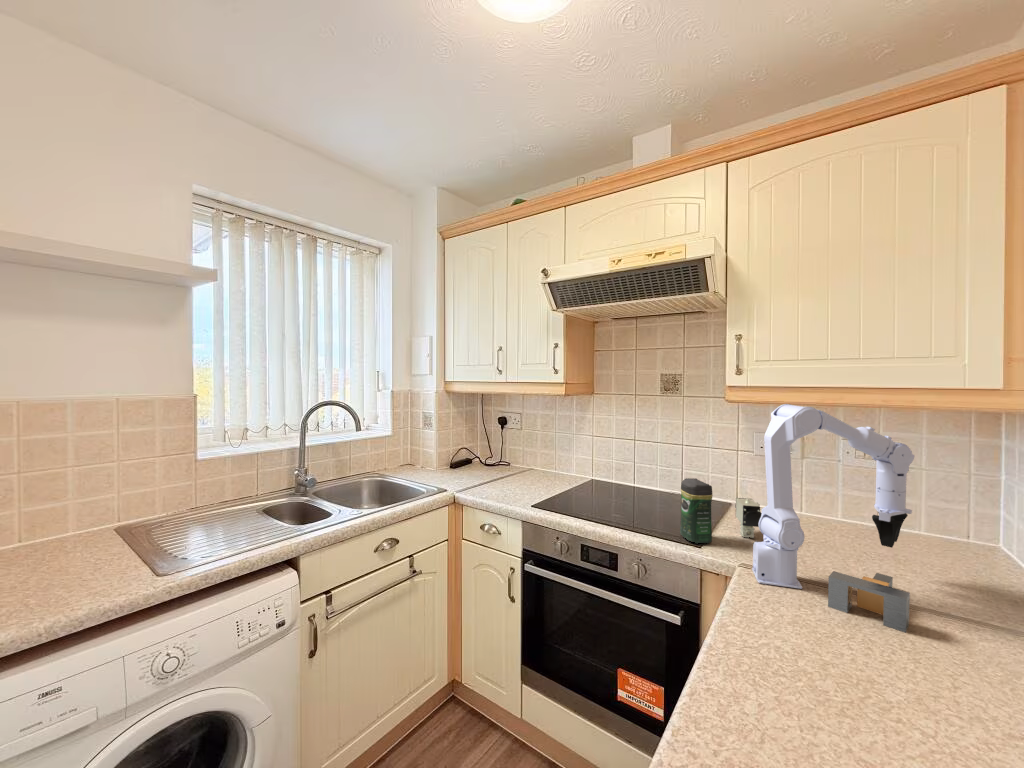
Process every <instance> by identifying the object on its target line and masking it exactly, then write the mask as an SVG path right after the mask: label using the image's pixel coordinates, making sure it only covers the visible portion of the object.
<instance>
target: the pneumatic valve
mask: <svg viewBox="0 0 1024 768" xmlns="http://www.w3.org/2000/svg"><path fill="white" fill-rule="evenodd" d="M734 505H735V506H734V507H735V518H736V519H737V520H738V521H739V522H740V524H739V526H740V529H739V530H740V531H739V534H740V535H741V537H742V536H743V537H742V538H744V537H745V538H749V537H750V538H751V539H755V535H754V534H755V528H759V525H758V524H759V520H760V518H761V515H762V511H761V507H760V503H759V502H755V501H754V500H753V499H752V498H748V497H747V498H746V497H745V498H744V497H736V498H735V504H734Z"/></svg>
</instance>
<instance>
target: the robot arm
mask: <svg viewBox="0 0 1024 768" xmlns="http://www.w3.org/2000/svg"><path fill="white" fill-rule="evenodd" d="M818 430H821V431H822V430H823V431H824V430H825V431H827V432H830V433H831V434H833V435H836V436H839V437H841V438H843V439H846V440H847V443H848V445H849V446H850V448H853V449H855V450H857V451H859V452H862V453H863V454H865V455H867V456H869V457H871V459H872V460H873V461H876V467H875V469H876V470H875V471H876V472H875V473H876V474H875V500H874V501H875V503H874V505H873V507H874V509H875V510H876V512H877V514H873V515H872V516H871V519H872V521H873V523H874V524H875V526H876V529H877V532H878V537H879V541H880V544H881V546H883V547H888V548H893V547H894V545H895V543H897V541H898V539H899V536H900V532H901V528H902V526H903V523H904V521H905V520H906V518H907V517H908V515H912V513H913V510H912V509H910V508H906V506H907V503H906V501H907V500H906V499H907V476H908V475H907V474H908V473H909V471H910V466H911V464H912V463H913V461H914V460H915V454H913V451H912V449H911V448H910V446H908V445H907V444H906V443H902V442H897V441H894V440H892V437H891V436H889V435H882V434H881V433H878V432H876V431H875V430H876V429H875V428H874V427H871V426H867V425H866V426H858V427H854V426H852V425H850V424H848V423H847V422H844V421H843V420H841V419H838V418H837V417H835V416H833V415H831V414H830V413H827V412H826V411H824V410H821V409H817V408H815V407H813V406H801V405H794V404H790V403H789V404H788V403H784V404H781V405H779V406H778V407H776V408H775V409H774V410H773V411H772V412H770V422H769V424H768V426H767V428H766V431H765V433H764V438H763V441H764V443H763V445H764V455H765V456H764V461H765V478H766V479H765V481H766V483H765V484H766V499H767V500H766V501H767V503H766V504H767V505H765V506H764V507H762V508H761V513H762V515H761V518H760V520H759V524H758V525H759V527H758V530H759V531H760V533H761V534H762V535H763V536H762V537H763V539H762V540H763V541H754V542H753V546H752V569H751V570H752V572H753V575H754V576H755V579H756V581H757V582H758V583H759V584H764V585H772V586H779V587H784V588H785V587H786V588H792V589H800V590H801V589H803V585H802V584H801V582H800V581H799V580H798V578H797V577H798V551H799V548H800V547H802V546H803V544H804V541H805V539H806V538H805V533H804V530H803V528H802V527H801V520H800V518H799V516H798V515H797V513H796V511H795V509H794V504H793V503H794V502H793V500H794V499H793V482H792V478H793V477H792V459H791V445H792V444H793V443H795V442H796V441H797V440H798V439H801V438H803V437H806V436H808V435H810V434H812V433H815V432H816V431H818Z"/></svg>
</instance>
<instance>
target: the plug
mask: <svg viewBox="0 0 1024 768" xmlns="http://www.w3.org/2000/svg"><path fill="white" fill-rule="evenodd" d="M861 579H863V580H867V581H870V582H874V583H877V584H881V585H885V586H888V587H892V588H893V584H894V583H893V579H894V577H893V576H890V575H886V574H882V573H879V572H876V573H875V574H874V576H873V577H869V576H865V575H863V577H862V578H861ZM856 594H857V599H856V601H857V602H856V603H857V604H856V607H857V608H861V609H864V610H867V611H870V612H873V613H876V614H878V615H883V611H884V596H881V595H877V594H874V593H871V592H867V591H864V590H861V589H857V593H856Z"/></svg>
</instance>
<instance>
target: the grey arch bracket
mask: <svg viewBox="0 0 1024 768" xmlns="http://www.w3.org/2000/svg"><path fill="white" fill-rule="evenodd" d="M853 588H855V589H857V590H858V589H861V590H864V591H867V592H871V593H874V594H877V595H881V596H884V611H883V617H882V618H883V619H882V625H883V626H884V627H888V628H891V629H894V630H897V631H900V632H903V633H907V631H908V629H909V626H910V603H911V601H910V599H911V598H910V596H911V595H910V594H911V593H910V592H909V591H906V590H901V589H899V588H894V587H893V586H892V587H888V586H885V585H881V584H877V583H874V582H870V581H867V580H863V579H862V578H859V577H856V576H852V575H849V574H847V573H841V572H839V571H836V570H835V571H834V570H833V571H832V572H831V573H830V574H829V576H828V592H827V596H828V598H827V607H828V608H832V609H834V610H837V611H840V612H844V613H846V614H847V613H849V611H851V608H852V607H853Z"/></svg>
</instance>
